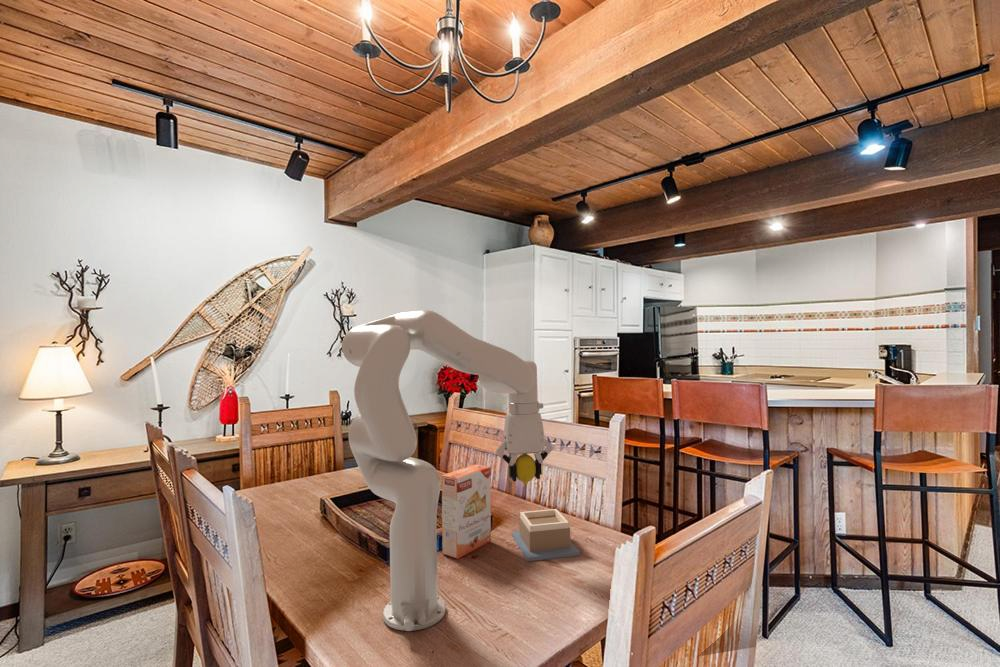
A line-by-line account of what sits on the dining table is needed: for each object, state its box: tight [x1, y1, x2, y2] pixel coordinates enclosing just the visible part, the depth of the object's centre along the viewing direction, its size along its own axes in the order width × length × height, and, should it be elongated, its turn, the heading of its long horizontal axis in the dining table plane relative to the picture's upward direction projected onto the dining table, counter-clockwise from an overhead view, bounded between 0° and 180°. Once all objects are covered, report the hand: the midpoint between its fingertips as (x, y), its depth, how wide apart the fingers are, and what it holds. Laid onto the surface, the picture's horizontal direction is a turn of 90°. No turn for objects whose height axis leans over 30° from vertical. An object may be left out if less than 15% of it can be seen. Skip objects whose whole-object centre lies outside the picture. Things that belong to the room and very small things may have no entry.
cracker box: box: [441, 464, 492, 560], centre depth 133 cm, size 14×6×21 cm, turn 143°
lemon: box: [514, 454, 536, 485], centre depth 128 cm, size 6×6×8 cm
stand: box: [511, 508, 581, 562], centre depth 134 cm, size 17×14×8 cm
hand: (525, 478), depth 128 cm, fingers closed on lemon, 5 cm apart
